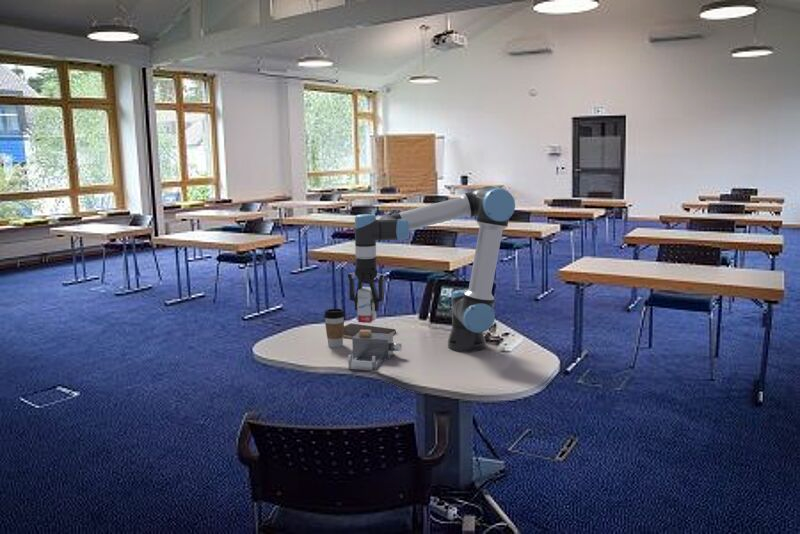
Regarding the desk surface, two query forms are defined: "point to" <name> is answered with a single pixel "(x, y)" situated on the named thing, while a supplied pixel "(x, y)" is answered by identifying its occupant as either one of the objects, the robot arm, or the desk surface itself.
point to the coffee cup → (334, 327)
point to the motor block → (374, 345)
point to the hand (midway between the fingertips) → (367, 319)
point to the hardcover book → (353, 329)
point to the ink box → (365, 305)
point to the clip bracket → (364, 363)
